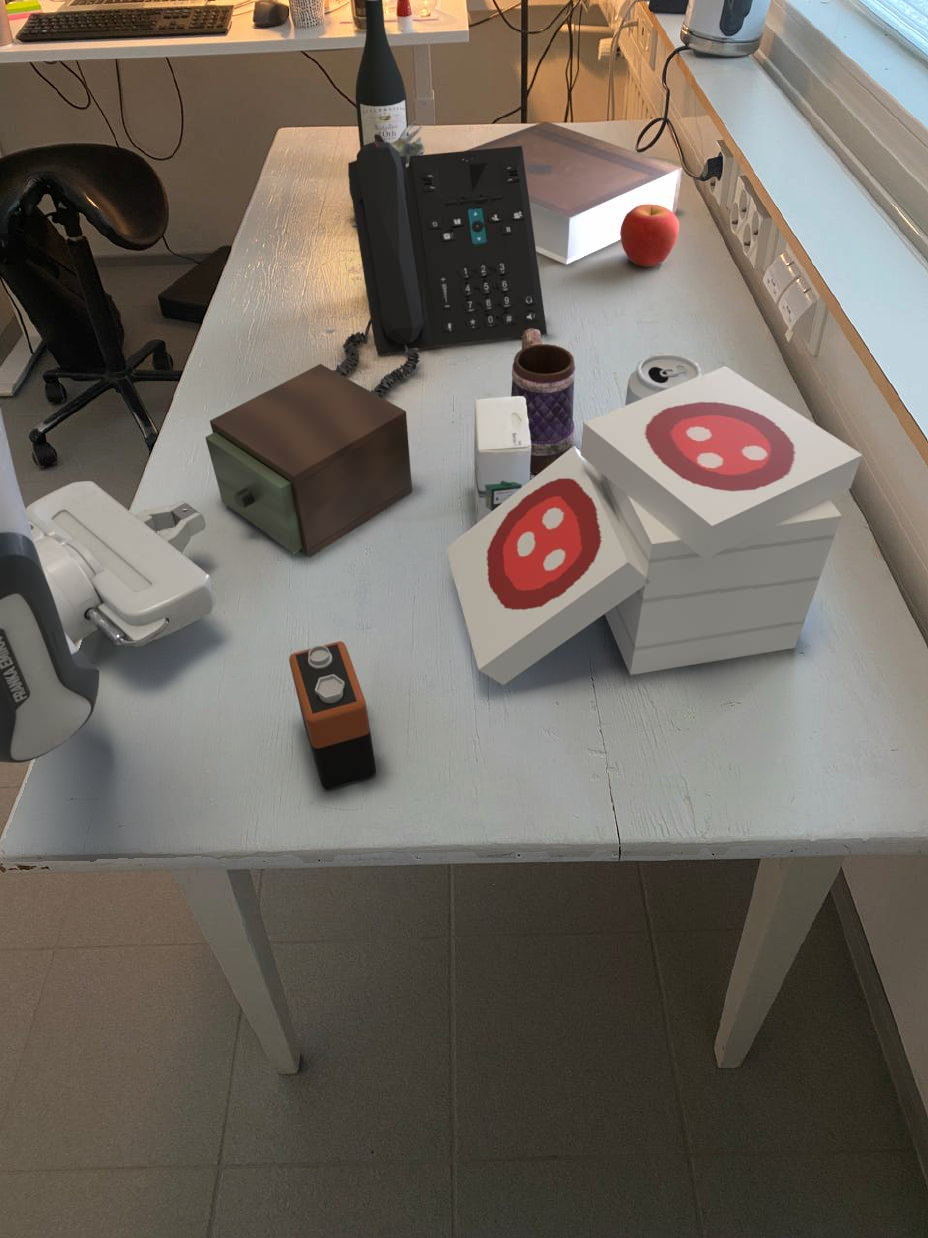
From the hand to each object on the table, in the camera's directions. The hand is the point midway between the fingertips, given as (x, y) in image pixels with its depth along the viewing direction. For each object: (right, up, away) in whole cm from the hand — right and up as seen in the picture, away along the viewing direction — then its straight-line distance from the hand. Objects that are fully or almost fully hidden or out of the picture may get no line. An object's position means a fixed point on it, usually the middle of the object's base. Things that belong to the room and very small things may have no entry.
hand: (195, 513), depth 85 cm
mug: (+32, +9, +16) cm, 37 cm away
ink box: (+28, 0, +8) cm, 29 cm away
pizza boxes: (+39, -9, -1) cm, 40 cm away
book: (+38, +53, +59) cm, 88 cm away
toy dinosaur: (+11, +51, +57) cm, 78 cm away
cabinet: (+10, +3, +11) cm, 15 cm away
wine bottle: (+12, +65, +70) cm, 96 cm away
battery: (+15, -20, -11) cm, 27 cm away
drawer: (+8, +2, +9) cm, 12 cm away
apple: (+50, +40, +46) cm, 79 cm away
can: (+45, +6, +13) cm, 47 cm away
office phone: (+20, +26, +32) cm, 46 cm away
